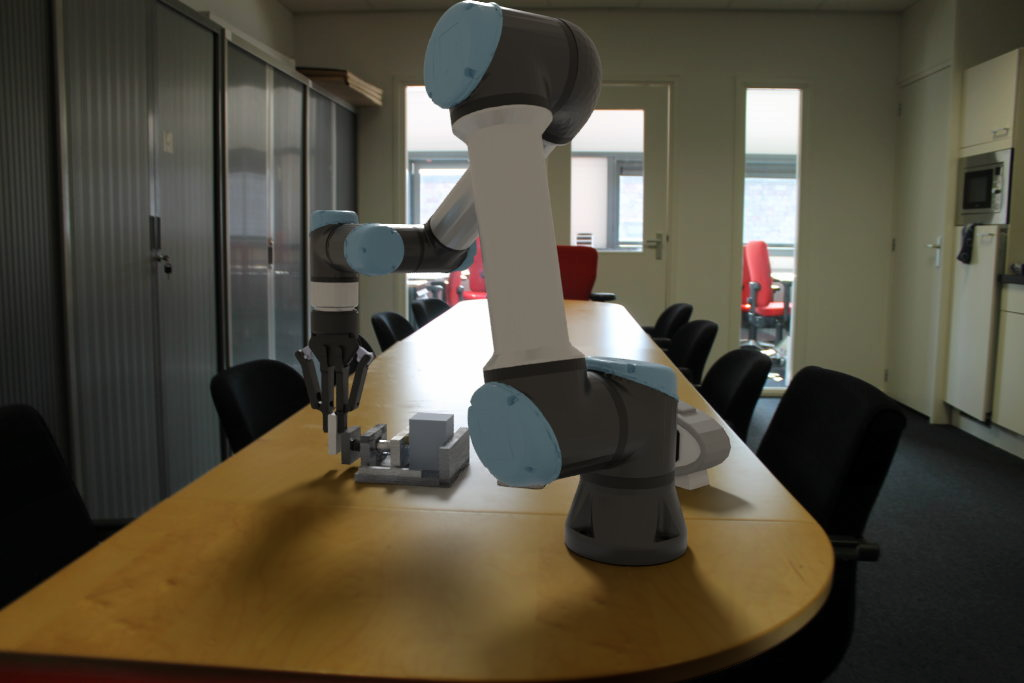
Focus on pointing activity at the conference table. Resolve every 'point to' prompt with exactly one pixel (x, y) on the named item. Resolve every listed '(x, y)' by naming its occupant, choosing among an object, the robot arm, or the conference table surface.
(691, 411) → the alarm clock
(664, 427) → the robot arm
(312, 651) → the conference table surface
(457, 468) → the press bed
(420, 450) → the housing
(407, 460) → the ram
